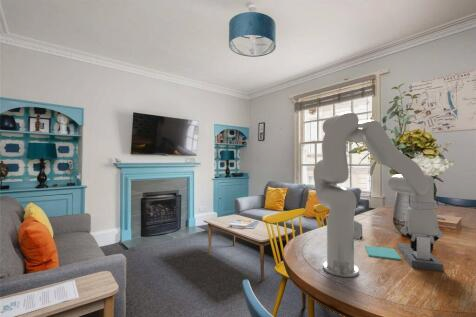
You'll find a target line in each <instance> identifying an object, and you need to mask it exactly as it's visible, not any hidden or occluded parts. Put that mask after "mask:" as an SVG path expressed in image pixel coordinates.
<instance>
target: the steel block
mask: <svg viewBox="0 0 476 317" xmlns="http://www.w3.org/2000/svg"><path fill="white" fill-rule="evenodd" d="M415 241H416V251H413V257H414V258H415V259H416V260H425V261H430V237H429V236H427V235H420V234H416V238H415Z"/></svg>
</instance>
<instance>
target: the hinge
mask: <svg viewBox="0 0 476 317" xmlns="http://www.w3.org/2000/svg"><path fill="white" fill-rule="evenodd" d="M361 238H363V225H362V223H361V222H359V221H357V220H355V219H354V239H358V240H360V239H361Z"/></svg>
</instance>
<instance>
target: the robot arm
mask: <svg viewBox="0 0 476 317" xmlns="http://www.w3.org/2000/svg"><path fill="white" fill-rule="evenodd" d="M322 131H323V133H324V135H323V138H322V143H321V151H322V152H321V153H322V154H321V155H322V159H320V160H319V161H317V162H316V163H315V165H314V168H313V180H314V181H313V182H314V187H315V195H316V200H317V201H318V203H319V204H320V205H321V206H323V207H325V208H327V209H329V212H328V214H327V220H326V247H327V248H326V255H327V256H326V260H325V261H324V262H323V263H322V269H323V270H324V271H326V272H327V273H329V274H331V275H333V276H335V277H336V276H337V277H341V278H342V277H343V278H353V277H356V276H358V275H359V273H360V269H359V267H358V266H357V265H355V238H354V220H355V212H356V207H357V197H356V194H354V192H353V191H352V190H350V189H348V188H346V187H343V186H339V185H338V184H340V185H341V184H344V183H345V182H347V180H348V179H349V176H350V174H349V173H350V172H349V164H348V157H347V143H348V142H349V143H363V145H364V146H365V147H366V148H367V150H368V152H369V153H370V154H371V157H372V158H373V159H374V161H376V162H378V163H379V164H381V165H383V166H384V167H388V168H389V169H391V170H393V171H394V172H395V171H396V172H397V173H398V174H394V175H392V176H390V177H389V179H388V181H387V185H388V187H389V188H390V190H391V191H393V192H396V193H399V194H406V195H409V197H410V198H409V200H410V201H409V204H410V206H409V207H407V209H406V214H405V221H404V222H405V224H404V226H403V227H402V228H401V229H400V232H401V233H402V234H403V235H404V236H406V237H407V238H408V239H410V243H409V244H410V247H411V248H412V250H413V251H416V241H415V238H416V234H420V235H427V236H429V237H430V253H431V254H433V253H432V252H433V251H434V244H435V242H437V241H438V240H439V239H441V238H444V237H445V235H444V233H443V232H442V231H441V229H440V228H439V221H438V215H437V211H436V210H435V208H438V207H439V204H438V203H435V202H434V201H435V199H434V197H435V194H434V193H435V192H434V191H435V190H434V189H435V187H434V186H435V185H434V184H435V183H434V182H435V181H434V180H435V179H434V176H432V175H427V174H425V172H424V171H423V170H422V168H421V167H420V165H419V164H418V163H417V162H416V161H414V160H413V159H412V158H410V157H408V156H407V155H405V153H403V152H401V151H400V150H399V149H398V148H397V147H396V146H395V144H394V142H393V141H392V140H391V138H390V136H389V135H388V133H387V132H386V130H385V129H384V127H383V126H382V124H381V122H379V121H378V120H375V119H368V120H362V121H360V120H359V117H358V115H357V114H356V113H355V112H353V111H345V112H341V113H337V114H336V115H333V116H331V117H328V118H326V119H325V120H324V122H323V123H322Z"/></svg>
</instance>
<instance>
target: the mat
mask: <svg viewBox="0 0 476 317" xmlns="http://www.w3.org/2000/svg"><path fill="white" fill-rule="evenodd" d="M364 248H365V250H366V253H367V255H368V257H370V258H379V259H380V258H381V259H388V260H397V261H402V257H401V256H400V255H399V253H398V252H397V251H396V250H395V248H390V247H382V246H379V247H378V246H372V245H364Z"/></svg>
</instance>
